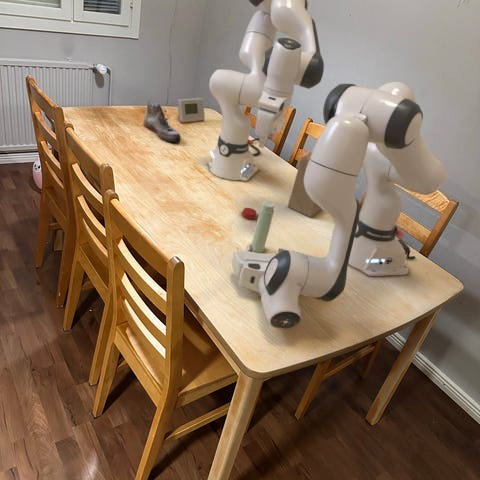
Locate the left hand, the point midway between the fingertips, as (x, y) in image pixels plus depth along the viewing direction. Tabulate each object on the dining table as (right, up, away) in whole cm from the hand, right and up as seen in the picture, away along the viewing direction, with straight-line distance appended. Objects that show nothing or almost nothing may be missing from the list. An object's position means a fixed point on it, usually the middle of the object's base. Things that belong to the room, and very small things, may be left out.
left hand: (265, 142), depth 138 cm
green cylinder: (-3, -33, -1) cm, 33 cm away
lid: (-5, -21, +14) cm, 26 cm away
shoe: (-44, +18, +64) cm, 79 cm away
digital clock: (-34, +30, +86) cm, 97 cm away
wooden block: (+16, -19, +28) cm, 37 cm away
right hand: (-1, -33, -11) cm, 35 cm away
